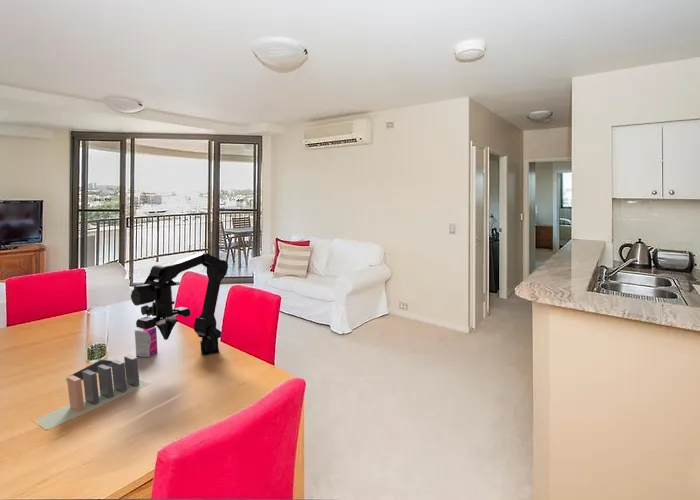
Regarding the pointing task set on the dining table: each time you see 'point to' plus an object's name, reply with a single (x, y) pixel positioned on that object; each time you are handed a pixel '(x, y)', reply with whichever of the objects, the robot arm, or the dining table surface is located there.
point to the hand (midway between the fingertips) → (166, 339)
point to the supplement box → (146, 342)
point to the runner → (69, 413)
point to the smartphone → (92, 368)
